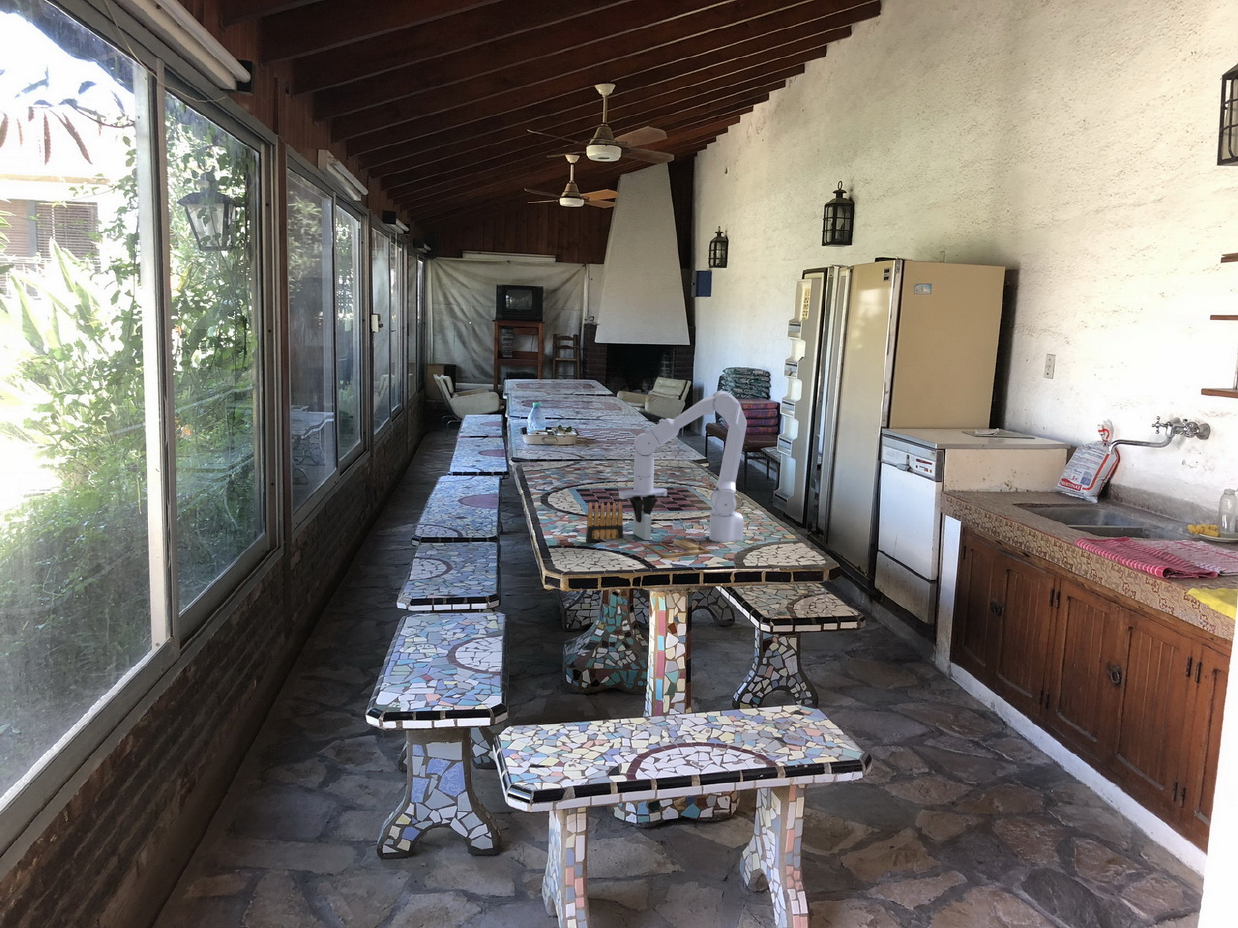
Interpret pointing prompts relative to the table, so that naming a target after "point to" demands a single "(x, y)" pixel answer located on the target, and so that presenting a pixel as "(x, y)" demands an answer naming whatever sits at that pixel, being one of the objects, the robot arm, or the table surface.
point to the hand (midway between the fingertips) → (642, 521)
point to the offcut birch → (691, 550)
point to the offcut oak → (686, 545)
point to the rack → (676, 554)
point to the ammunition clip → (604, 523)
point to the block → (643, 527)
